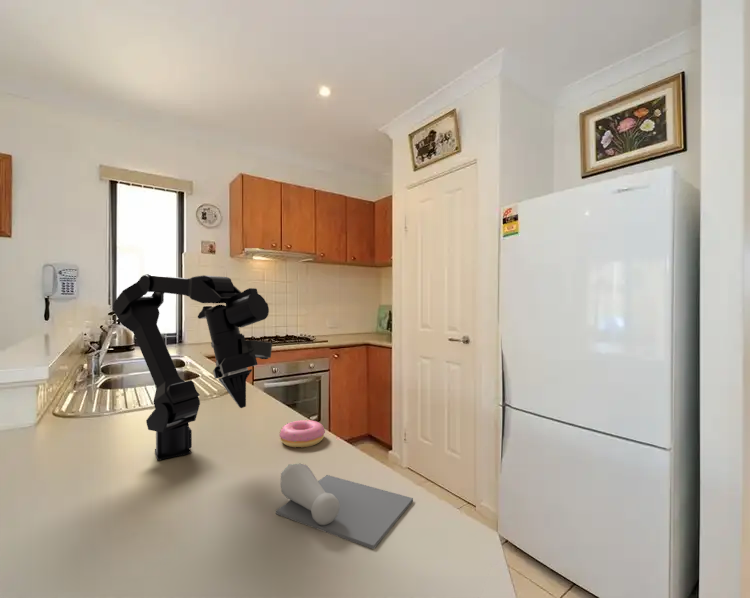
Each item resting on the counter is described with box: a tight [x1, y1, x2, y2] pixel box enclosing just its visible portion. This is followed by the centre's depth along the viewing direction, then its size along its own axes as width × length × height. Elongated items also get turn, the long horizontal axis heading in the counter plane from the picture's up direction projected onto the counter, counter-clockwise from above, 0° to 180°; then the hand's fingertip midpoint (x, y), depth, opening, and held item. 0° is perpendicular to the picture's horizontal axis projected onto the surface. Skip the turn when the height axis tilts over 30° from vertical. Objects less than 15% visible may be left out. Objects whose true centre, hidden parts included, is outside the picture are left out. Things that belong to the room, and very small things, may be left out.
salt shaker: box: [280, 462, 340, 525], centre depth 61 cm, size 6×6×13 cm
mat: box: [275, 474, 414, 550], centre depth 63 cm, size 18×14×1 cm
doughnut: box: [279, 419, 326, 448], centre depth 92 cm, size 11×11×4 cm
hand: (243, 407), depth 77 cm, fingers closed
